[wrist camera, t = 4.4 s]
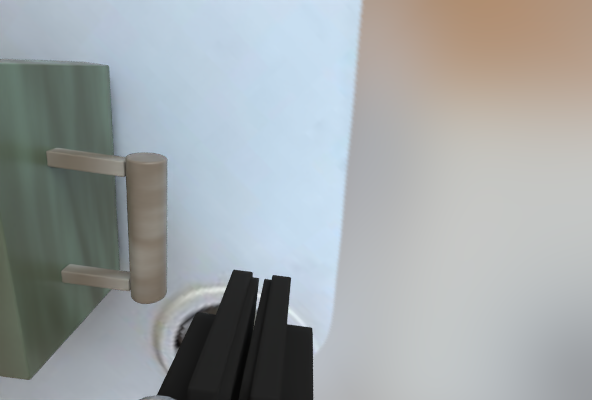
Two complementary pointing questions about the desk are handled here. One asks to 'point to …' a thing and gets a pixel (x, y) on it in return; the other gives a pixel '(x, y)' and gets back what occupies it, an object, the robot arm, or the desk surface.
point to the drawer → (68, 209)
